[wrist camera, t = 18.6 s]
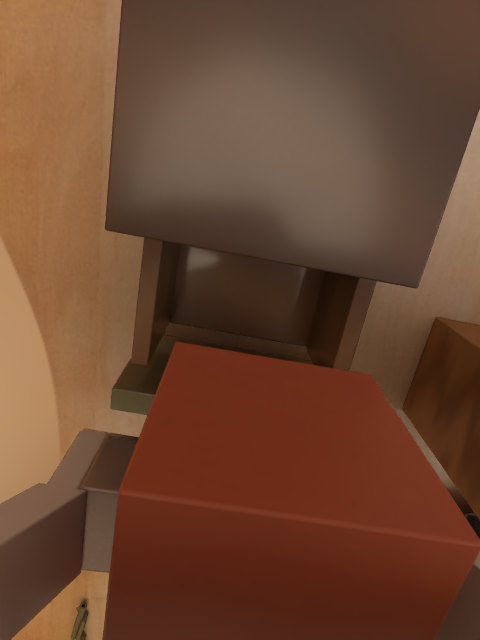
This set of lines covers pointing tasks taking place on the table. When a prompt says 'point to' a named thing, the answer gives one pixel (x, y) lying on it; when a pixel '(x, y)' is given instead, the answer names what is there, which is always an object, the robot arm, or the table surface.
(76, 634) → the toy shotgun
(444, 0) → the cabinet
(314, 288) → the drawer
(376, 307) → the table surface
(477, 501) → the stand
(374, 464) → the block
